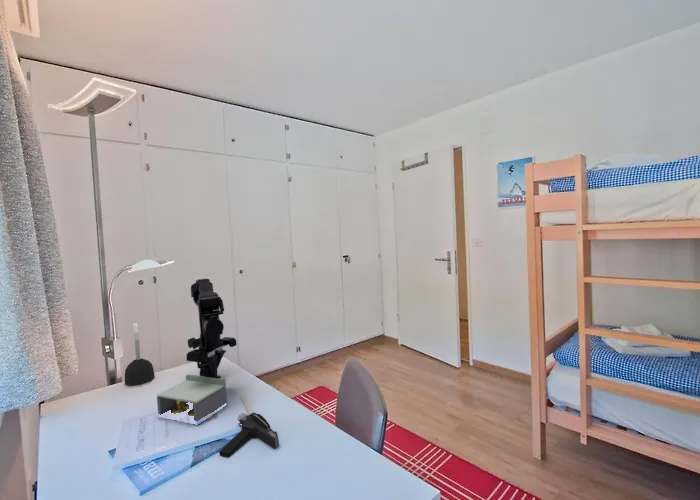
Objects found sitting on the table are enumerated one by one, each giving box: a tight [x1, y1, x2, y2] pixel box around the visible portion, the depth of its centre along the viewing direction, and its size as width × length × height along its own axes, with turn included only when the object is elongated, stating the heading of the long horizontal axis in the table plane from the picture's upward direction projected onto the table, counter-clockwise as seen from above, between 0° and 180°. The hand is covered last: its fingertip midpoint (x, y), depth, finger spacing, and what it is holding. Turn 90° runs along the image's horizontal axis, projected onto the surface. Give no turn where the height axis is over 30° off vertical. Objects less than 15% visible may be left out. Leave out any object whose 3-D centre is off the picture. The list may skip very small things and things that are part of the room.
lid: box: [156, 374, 227, 403], centre depth 118 cm, size 13×17×2 cm
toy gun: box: [218, 412, 280, 458], centre depth 101 cm, size 5×21×15 cm
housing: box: [156, 386, 228, 421], centre depth 118 cm, size 13×17×7 cm
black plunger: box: [124, 322, 156, 389], centre depth 147 cm, size 11×11×25 cm
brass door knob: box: [171, 400, 189, 414], centre depth 118 cm, size 6×6×6 cm
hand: (214, 372), depth 127 cm, fingers closed
